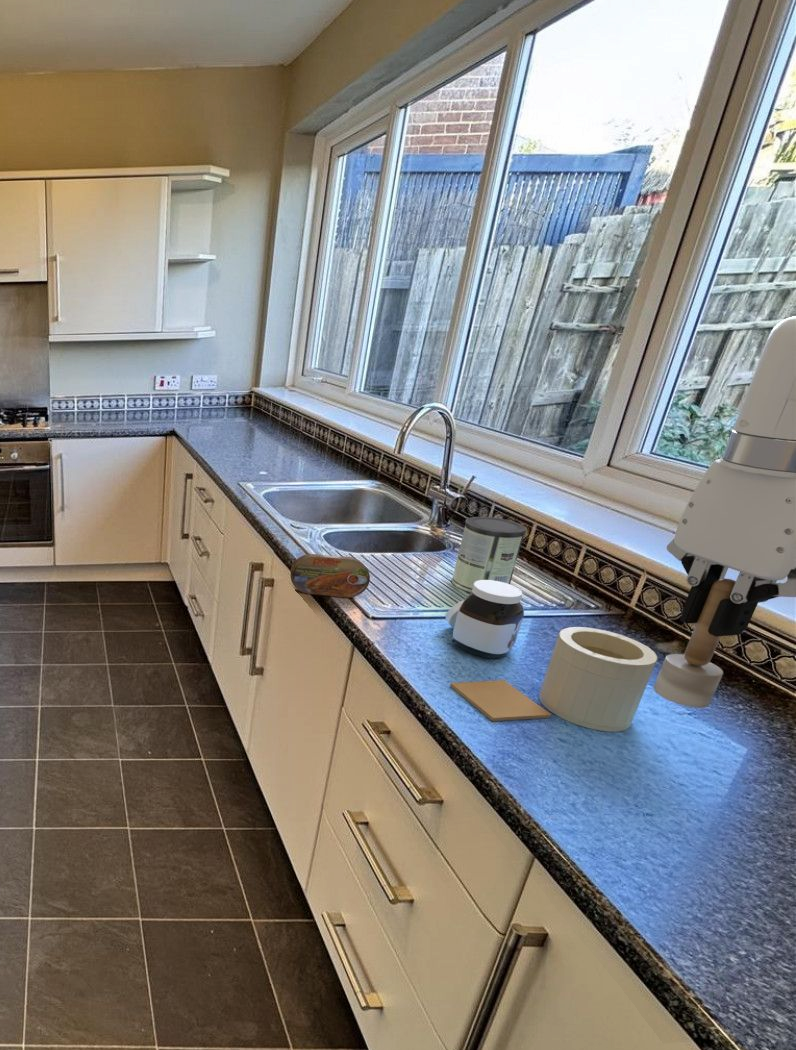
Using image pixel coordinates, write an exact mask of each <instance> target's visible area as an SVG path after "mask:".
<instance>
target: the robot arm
mask: <svg viewBox="0 0 796 1050" xmlns="http://www.w3.org/2000/svg"><path fill="white" fill-rule="evenodd" d="M666 551H667V552H668V553H670V554H671V555H672V556H673V557H674V558H675V559H676V560H678V561H680V563H681V565H682V567H683V569H684V571H685V572H686V574H687V576H686V583H687V585H689V586H690V590H689V593H688V594H687V597H686V600H685V602H684V605H683V608H682V609H683V611H682V613H681V615H680V617H679V618H680V619H679V621H680V622H683V623H684V624H686V625H687V624H688V625H689V624H696V623H697V621H698V619H699V616H700V614H701V611H702V609H703V606H704V604H705V602H706V599H707V597H708V594H709V592H710V590H711V587H712V585H713V583H714V582H715V581H717V580H719V579H725V578H726V575H727V572H728V571H729V569H732V570H734V571H737V572H739V573H738V575H737V577H736V580H735V581H736V582H735V585H734V587H733V590H732V592H731V594H730V599H722V600H721V601H720V603H719V605H718V607H717V610H716V612H715V614H714V617H713V619H712V622H711V624H710V626H709V629H708V632H709V634H711V635H713V636H716V637H717V636H721V637H729V636H732V637H733V636H739V635H742V634H743V632H744V631H746V630H747V628H748V626H749V624H750V622H751V619H752V618H753V615H754V613H755V611H756V608H757V606H758V605H759V603H765V602H768V601H770V600H772V599H776V598H779V597H780V598H782V597H783V598H796V315H794V316H791V317H787V318H785V319H783V320H781V321H780V322H778V323H776V325H775V326H774V327H773V328H772V330H771V331H770V333H769V335H768V338H767V339H766V342H765V345H764V347H763V350H762V352H761V355H760V358H759V360H758V363H757V366H756V368H755V370H754V374H753V375H752V379H751V380H750V384H749V386H748V389H747V392H746V394H745V397H744V400H743V402H742V405H741V406H740V410H739V412H738V414H737V417H736V420H735V423H734V425H733V428H732V430H731V432H730V435H729V438H728V440H727V443H726V445H725V447H724V450H723V453H722V456H721V458H719V459H715V460H713V462H712V463H711V464H710V466H709V467H708V468H707V470H706V471H705V472H704V474H703V476H701V479H700V480H699V482H698V483H697V485H696V487H695V488H694V491H693V493H692V494H691V496H690V498H689V500H688V502H687V504H686V506H685V508H684V510H683V513H682V515H681V517H680V520H679V522H678V525H677V527H676V531H675V535H674V538H673V539H671V541H670V542H669V543H668V544H667V545H666ZM786 578H787V579H786ZM785 579H786V581H785V582H778V581H782V580H785Z"/></svg>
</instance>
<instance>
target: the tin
mask: <svg viewBox="0 0 796 1050" xmlns="http://www.w3.org/2000/svg"><path fill="white" fill-rule="evenodd" d="M370 580H371V574H370V571H369V569H368V567H367V566H366V565H365V564H364V563H363V562H362V561H361V560H359V559H357V558H355V557H352V556H345V555H344V556H341V555H331V554H329V555H328V554H318V553H307V554H304V555H303V554H302V555H301V556H299V557H297V559H295V561H293V563H292V565H291V568H290V581H291V583H292V585H293V587H294V588H295V589H296V590H297V591H298V592H301V593H303V594H306V595H314V596H326V597H327V596H328V597H334V598H335V597H336V598H344V599H346V598H347V599H349V598H350V599H351V598H354V597H357V596H360V595H361V594H363V593H364V592H365V591H366V590H367V589H368V587H369V585H370V582H371V581H370Z"/></svg>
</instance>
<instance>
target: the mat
mask: <svg viewBox="0 0 796 1050" xmlns="http://www.w3.org/2000/svg"><path fill="white" fill-rule="evenodd" d="M449 687H450V688H452V689H453V690H454V691H455V692H456V693H458V695H460V696H461V697H462V698H463V699H465V700H466V701H467V702H468V703H470V704H471V705H472V706H473V707H474V708H476V710H478V712H480V713H482V714H483V715H484V716H485V717H487V718H488V719H489V720H490V721H491V722H499V721H500V722H502V721H503V722H505V721H518V720H519V721H520V720H521V721H522V720H536V719H550V718H551V716H552V714H551V713H550V711H548V710H547V709H546V708H545V709H544V707H542V706H540V705H539V704H538V703H536V702H535V701H534V700H532V699H531V698H529V697H528V696H527V695H526V694H524V693H523V692H521V691H520V690H519V689H517V688H516V687H515V686H513V685H512V684H511V683H509V682H508V681H507V680H504V679H498V680H497V679H495V680H479V681H461V682H450V684H449Z"/></svg>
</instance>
